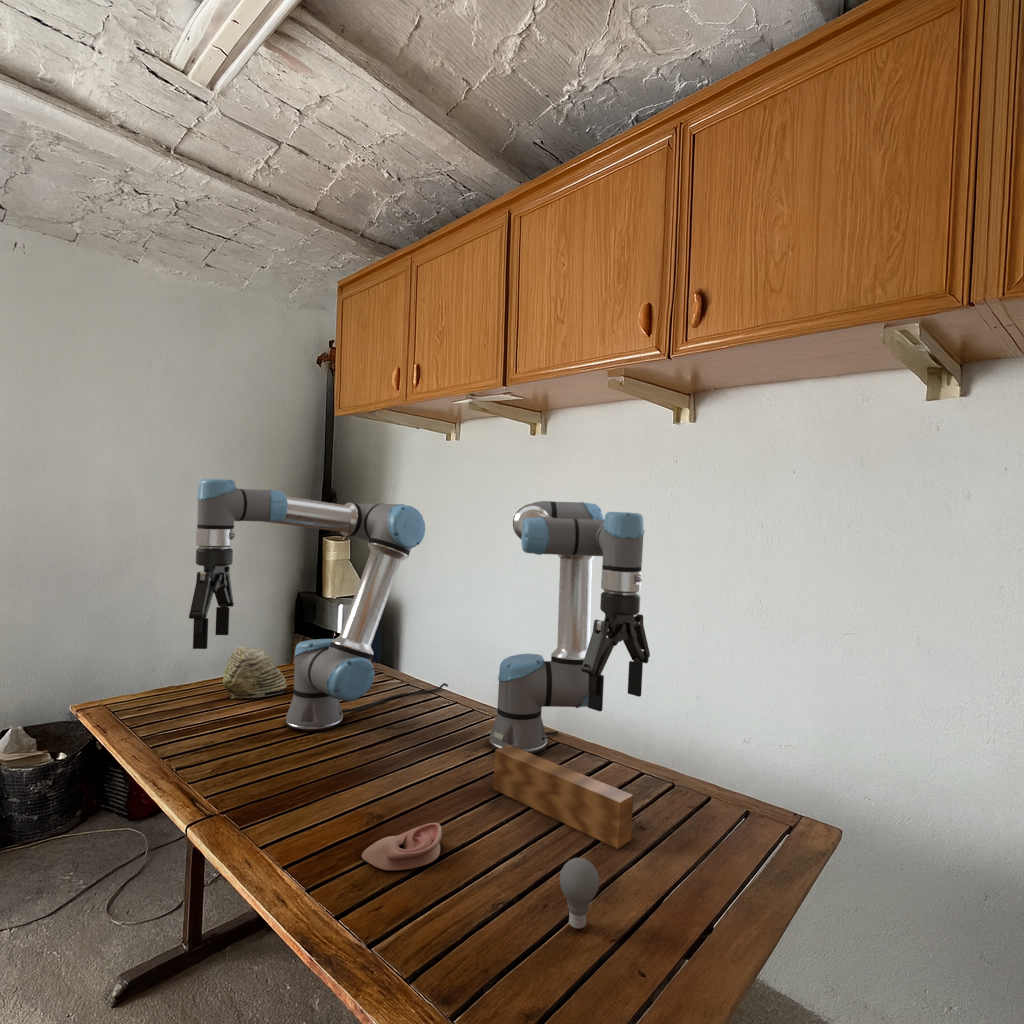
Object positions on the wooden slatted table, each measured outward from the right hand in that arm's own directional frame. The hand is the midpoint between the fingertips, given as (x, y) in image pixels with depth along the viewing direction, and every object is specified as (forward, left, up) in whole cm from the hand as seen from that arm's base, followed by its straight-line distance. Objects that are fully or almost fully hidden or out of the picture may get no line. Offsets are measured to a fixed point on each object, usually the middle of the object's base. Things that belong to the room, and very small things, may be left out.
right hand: (615, 701), depth 122 cm
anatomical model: (+38, -10, -26) cm, 48 cm away
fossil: (+54, -113, -26) cm, 128 cm away
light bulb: (+20, +19, -26) cm, 38 cm away
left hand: (+69, -59, +3) cm, 90 cm away
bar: (+4, -12, -26) cm, 29 cm away
